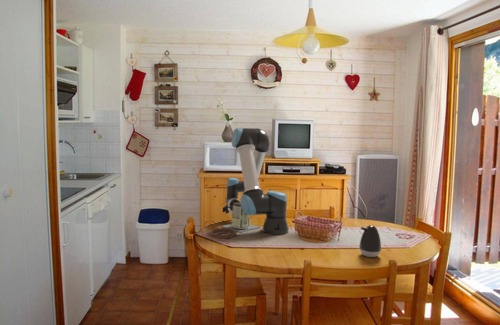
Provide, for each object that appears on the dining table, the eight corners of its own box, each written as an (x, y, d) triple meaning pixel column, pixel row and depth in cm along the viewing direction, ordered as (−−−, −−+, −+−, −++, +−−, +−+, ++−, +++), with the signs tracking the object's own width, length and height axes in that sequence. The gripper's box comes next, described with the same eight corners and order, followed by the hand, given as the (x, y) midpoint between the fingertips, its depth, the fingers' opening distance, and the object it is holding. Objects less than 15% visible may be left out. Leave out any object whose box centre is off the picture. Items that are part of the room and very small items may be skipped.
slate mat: (259, 227, 239) (259, 226, 239) (240, 232, 227) (240, 231, 227) (240, 222, 250) (240, 221, 250) (221, 226, 238) (221, 226, 238)
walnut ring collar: (241, 234, 223) (241, 232, 223) (222, 239, 212) (222, 237, 212) (223, 229, 233) (223, 226, 233) (204, 233, 222) (204, 231, 222)
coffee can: (236, 224, 243) (237, 201, 242) (251, 227, 238) (253, 203, 238) (228, 227, 233) (229, 203, 233) (243, 229, 229) (245, 205, 228)
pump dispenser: (355, 252, 200) (357, 222, 198) (375, 252, 200) (377, 222, 199) (362, 259, 190) (364, 228, 188) (383, 259, 190) (386, 228, 189)
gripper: (253, 210, 259) (261, 218, 238) (215, 211, 253) (220, 219, 232) (253, 198, 258) (262, 206, 237) (215, 199, 252) (221, 206, 232)
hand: (241, 212), depth 235 cm, fingers open, 13 cm apart
